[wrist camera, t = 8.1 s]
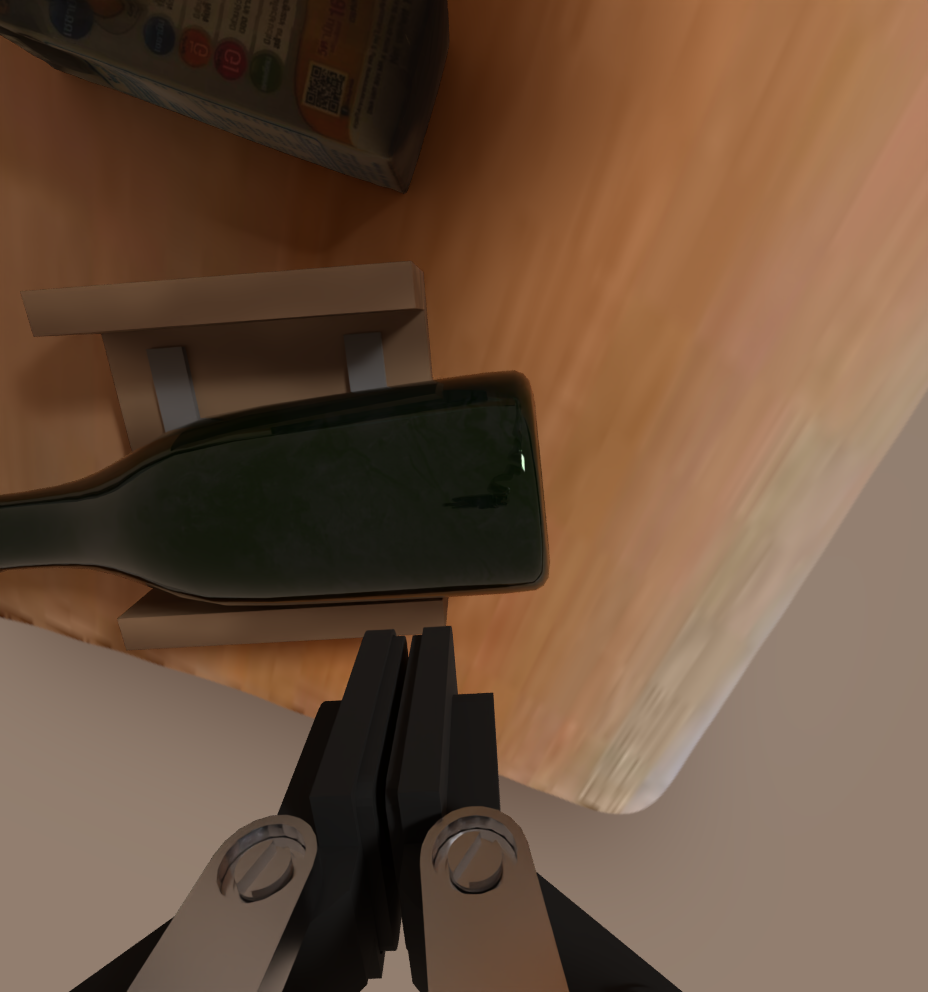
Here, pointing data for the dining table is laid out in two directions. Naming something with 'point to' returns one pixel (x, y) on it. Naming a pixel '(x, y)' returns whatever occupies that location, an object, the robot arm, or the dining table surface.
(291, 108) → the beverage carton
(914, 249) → the dining table surface
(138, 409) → the cradle
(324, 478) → the beer bottle
